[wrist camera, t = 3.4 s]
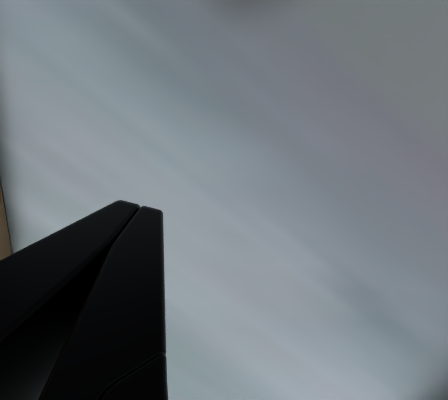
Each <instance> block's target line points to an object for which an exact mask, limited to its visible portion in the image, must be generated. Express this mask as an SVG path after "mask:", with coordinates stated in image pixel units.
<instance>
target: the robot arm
mask: <svg viewBox="0 0 448 400" xmlns="http://www.w3.org/2000/svg"><path fill="white" fill-rule="evenodd" d="M165 355H166V329H165V284H164V239H163V212H162V211H161V210H159V209H155V208H151V207H147V206H142V207H140V206H139V205H138V204H135V203H131V202H127V201H123V200H118V201H116V202H114V203H112V204H110V205H108V206H106V207H104V208H102V209H100V210H98V211H96V212H94V213H92V214H90V215H88V216H86V217H84V218H82V219H80V220H78V221H76V222H74V223H73V224H71V225H69V226H67V227H65V228H63V229H61V230H59V231H57V232H55V233H53V234H51V235H49V236H47V237H45V238H43V239H41V240H39V241H37V242H35V243H33V244H31V245H29V246H27V247H25V248H24V249H22V250H20V251H18V252H16V253H14V254H12V255H10V256H8V257H6V258H4V259H2V260H0V400H168V390H167V362H166V356H165Z"/></svg>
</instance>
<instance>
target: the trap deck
mask: <svg viewBox="0 0 448 400" xmlns="http://www.w3.org/2000/svg"><path fill="white" fill-rule="evenodd" d="M10 255H12V252H11V245H10V239H9V233H8V227H7V221H6V214H5V208H4V202H3V196H2V190H1V183H0V260H2V259H4V258H6V257H8V256H10Z"/></svg>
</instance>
